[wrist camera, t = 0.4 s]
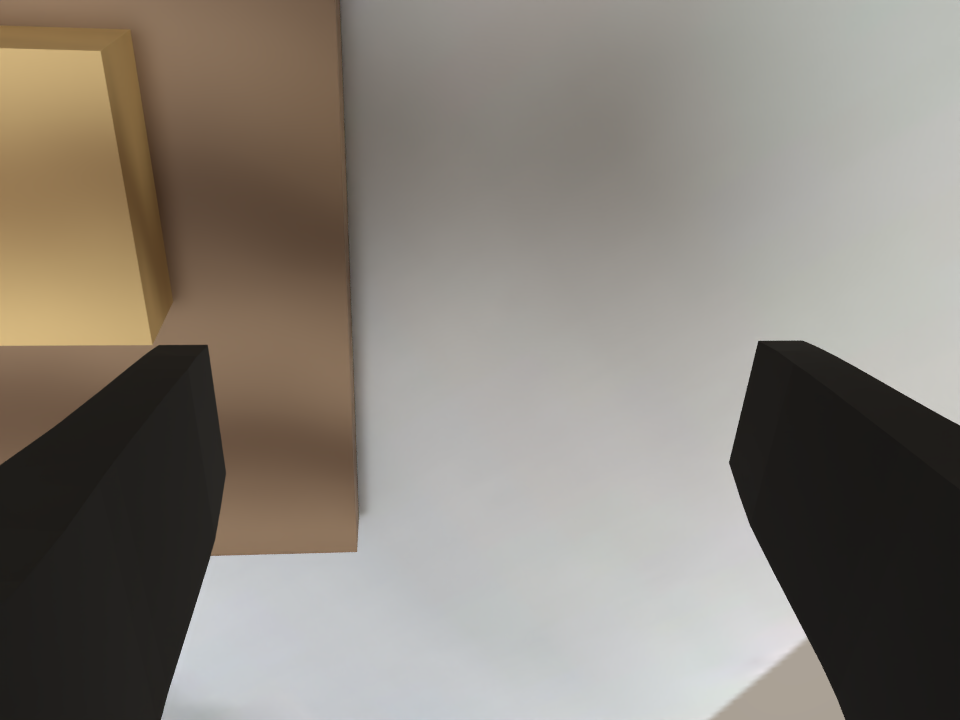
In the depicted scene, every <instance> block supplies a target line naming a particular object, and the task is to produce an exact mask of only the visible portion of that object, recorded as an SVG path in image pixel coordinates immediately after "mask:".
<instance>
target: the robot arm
mask: <svg viewBox="0 0 960 720" xmlns="http://www.w3.org/2000/svg"><path fill="white" fill-rule="evenodd" d="M729 464H730V467H731V470H732V473H733V477H734V480H735V483H736V486H737V489H738V492H739V495H740V498H741V501H742V504H743V507H744V510H745V512H746V515H747V518H748V521H749V524H750V526H751V528H752V530H753V532H754V534H755V536H756V538H757V540H758V542H759V544H760V546H761V548H762V550H763V552H764V554H765V556H766V558H767V560H768V562H769V564H770V566H771V568H772V570H773V572H774V574H775V576H776V578H777V580H778V582H779V584H780V586H781V587H782V589H783V591H784V593H785V595H786V597H787V599H788V601H789V603H790V605H791V607H792V609H793V611H794V612H795V614H796V616H797V618H798V620H799V622H800V624H801V626H802V628H803V630H804V632H805V634H806V636H807V638H808V639H809V641H810V643H811V645H812V647H813V649H814V651H815V653H816V655H817V657H818V659H819V661H820V662H821V664H822V666H823V669H824V671H825V673H826V675H827V677H828V679H829V681H830V684H831V686H832V688H833V690H834V693H835V695H836V697H837V699H838V702H839V704H840V707H841V710H842V712H843V714H844V717H845V720H960V425H958V424H956V423H954V422H952V421H950V420H949V419H947V418H945V417H943V416H941V415H939V414H938V413H936V412H934V411H932V410H930V409H929V408H927V407H925V406H923V405H921V404H920V403H918V402H916V401H914V400H913V399H911V398H909V397H907V396H905V395H904V394H902V393H900V392H898V391H897V390H895V389H893V388H891V387H890V386H888V385H886V384H884V383H883V382H881V381H879V380H877V379H876V378H874V377H872V376H870V375H869V374H867V373H865V372H863V371H862V370H860V369H858V368H856V367H854V366H853V365H851V364H849V363H847V362H845V361H844V360H842V359H840V358H838V357H836V356H834V355H832V354H830V353H828V352H826V351H825V350H822V349H820V348H818V347H816V346H814V345H812V344H809V343H807V342H805V341H758V345H757V349H756V353H755V357H754V361H753V366H752V370H751V374H750V378H749V382H748V386H747V391H746V395H745V399H744V403H743V407H742V411H741V415H740V420H739V424H738V428H737V432H736V436H735V440H734V444H733V449H732V453H731V457H730V461H729ZM225 477H226V469H225V462H224V455H223V448H222V440H221V433H220V426H219V419H218V412H217V405H216V398H215V391H214V384H213V377H212V370H211V363H210V356H209V349H208V345H158V346H156V347H155V348H153V349H152V350H151V351H149V352H148V353H146V354H145V355H144V356H143V357H141V358H140V359H139V360H137V361H136V362H135V363H134V364H132V365H131V366H130V367H129V368H127V369H126V370H125V371H124V372H123V373H121V374H120V375H119V376H118V377H116V378H115V379H114V380H113V381H111V382H110V383H109V384H108V385H107V386H105V387H104V388H103V389H102V390H100V391H99V392H98V393H97V394H95V395H94V396H93V397H91V398H90V399H89V400H88V401H86V402H85V403H84V404H83V405H81V406H80V407H79V408H77V409H76V410H75V411H74V412H72V413H71V414H70V415H69V416H67V417H66V418H65V419H64V420H62V421H61V422H60V423H58V424H57V425H56V426H54V427H53V428H52V429H50V430H49V431H47V432H46V433H45V434H43V435H42V436H40V437H39V438H38V439H36V440H35V441H33V442H32V443H31V444H29V445H28V446H26V447H25V448H23V449H22V450H21V451H19V452H18V453H16V454H15V455H14V456H12V457H11V458H9V459H8V460H7V461H5V462H4V463H2V464H1V465H0V720H161V717H162V713H163V710H164V706H165V702H166V698H167V694H168V691H169V688H170V685H171V681H172V678H173V675H174V672H175V669H176V665H177V662H178V659H179V656H180V653H181V649H182V646H183V643H184V640H185V637H186V634H187V630H188V627H189V624H190V621H191V618H192V614H193V611H194V608H195V605H196V602H197V598H198V595H199V592H200V589H201V585H202V582H203V579H204V576H205V572H206V569H207V566H208V563H209V559H210V556H211V553H212V549H213V546H214V542H215V538H216V533H217V527H218V521H219V515H220V510H221V503H222V497H223V490H224V484H225Z"/></svg>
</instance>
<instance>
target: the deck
mask: <svg viewBox="0 0 960 720" xmlns="http://www.w3.org/2000/svg"><path fill="white" fill-rule="evenodd" d="M0 26H32V27H65V28H98V29H130V31H131V37H132V43H133V50H134V56H135V62H136V69H137V75H138V82H139V88H140V94H141V101H142V107H143V113H144V120H145V126H146V132H147V139H148V145H149V151H150V158H151V164H152V170H153V177H154V183H155V190H156V196H157V202H158V209H159V215H160V221H161V228H162V234H163V240H164V247H165V253H166V259H167V266H168V272H169V278H170V285H171V291H172V297H173V303H172V305H171V307H170V310H169V312H168V314H167V316H166V318H165V320H164V322H163V324H162V326H161V328H160V330H159V333H158V335H157V337H156V339H155V341H154V343H153V345H68V346H0V465H1V464H2V463H4V462H5V461H7V460H8V459H9V458H11V457H12V456H14V455H15V454H16V453H18V452H19V451H21V450H22V449H23V448H25V447H26V446H28V445H29V444H31V443H32V442H33V441H35V440H36V439H38V438H39V437H40V436H42V435H43V434H45V433H46V432H47V431H49V430H50V429H52V428H53V427H54V426H56V425H57V424H58V423H60V422H61V421H62V420H64V419H65V418H66V417H67V416H69V415H70V414H71V413H72V412H74V411H75V410H76V409H77V408H79V407H80V406H81V405H83V404H84V403H85V402H86V401H88V400H89V399H90V398H91V397H93V396H94V395H95V394H97V393H98V392H99V391H100V390H102V389H103V388H104V387H105V386H107V385H108V384H109V383H110V382H111V381H113V380H114V379H115V378H116V377H118V376H119V375H120V374H121V373H123V372H124V371H125V370H126V369H127V368H129V367H130V366H131V365H132V364H134V363H135V362H136V361H137V360H139V359H140V358H141V357H143V356H144V355H145V354H146V353H148V352H149V351H151V350H152V349H153V348H155V347H156V346H158V345H208V349H209V356H210V363H211V370H212V377H213V384H214V391H215V398H216V405H217V412H218V419H219V426H220V433H221V440H222V448H223V455H224V462H225V469H226V477H225V484H224V490H223V497H222V503H221V510H220V515H219V521H218V527H217V533H216V538H215V542H214V546H213V549H212V553H211V556H221V555H259V554H296V553H334V552H357V543H358V524H359V505H358V478H357V451H356V424H355V397H354V370H353V343H352V316H351V289H350V262H349V235H348V208H347V181H346V154H345V127H344V100H343V73H342V46H341V19H340V0H0Z"/></svg>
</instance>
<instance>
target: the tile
mask: <svg viewBox="0 0 960 720" xmlns="http://www.w3.org/2000/svg"><path fill="white" fill-rule="evenodd" d="M172 303H173V297H172V291H171V285H170V278H169V272H168V266H167V259H166V253H165V247H164V240H163V234H162V228H161V221H160V215H159V209H158V202H157V196H156V190H155V183H154V177H153V170H152V164H151V158H150V151H149V145H148V139H147V132H146V126H145V120H144V113H143V107H142V101H141V94H140V88H139V82H138V75H137V69H136V62H135V56H134V50H133V43H132V37H131V31H130V29H98V28H65V27H32V26H0V346H68V345H153V343H154V341H155V339H156V337H157V335H158V333H159V330H160V328H161V326H162V324H163V322H164V320H165V318H166V316H167V314H168V312H169V310H170V307H171V305H172Z"/></svg>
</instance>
